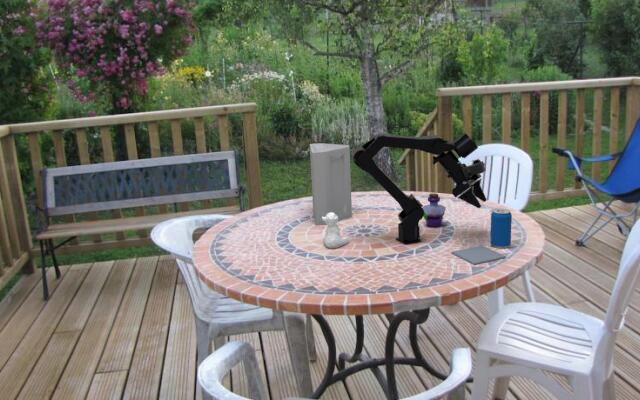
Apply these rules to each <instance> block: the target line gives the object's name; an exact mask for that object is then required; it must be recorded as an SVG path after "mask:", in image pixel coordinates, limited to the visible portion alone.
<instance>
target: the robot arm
mask: <svg viewBox="0 0 640 400" xmlns="http://www.w3.org/2000/svg"><path fill="white" fill-rule="evenodd" d="M383 148H393V149H394V148H396V149H406V150H407V149H408V150H418V151H422V152H424V153H427V154H432V155H435V156H432V164H431V165H436V164H437V163H438V164H439V165H440V166H441V167H442V169H443V170H444V171H445V173H447V175H446V177H447V178H448V179H451V180H452V182H453V183H454V184H455V185H454V187H453V188H452V190H451V194H452V195H453V197H454V198H457V199H459V200H461V201H463V202H465V203H468V204H470V205H471V206H473V207H475V208H477V209H480V208H482V205H481V203H480V201H482V202H484V203H485V202H486V201H487V200H488V199H487V198H486V197H487V196H486V195H485V193H484V190H483V187H482V186H481V183H482V175H481V174H483V173H485V171H487V169H486V164H485V163H484V161H483V160H481V159H479V158H477V159H475V160H473V161H472V162H473V163H472V164H469V165H467V164H466V163H462V162H461V161H460V160H459V158H460V159H461V158H463V159H466V158H467V157H469V156H470V155H471V154H473V153H474V152H475V151H476V150H477V149H479V147H478V145H477V144H476V142H475V141H474V140H473V139H472V138H471V137H470V136H469V135H468V134H467V133H466V132H463V133H461V135H460V136H459V137H457V139H455V140H454V141H453V142H451V141H450V140H445V139H444V138H442V137H441V136H439V135H437V134H432V135H424V136H406V135H395V134H394V135H393V134H383V133H377V134H376V135H375V136H374V137H373V138H371V139H370V140H368V141H367V142H365V143H364V144H363V145H361V146H357V147H355V148H354V149H353V150H352V151H351V159H352V162H353V163H354V165H355V166H357V167H358V168H360V169H361V170H362V171H364V172H366V173H367V174H368V175H370V176H371V177H372V178H373V179H374V180H375V181H377V183H378V184H379V185H380V186H381V188H383V189H384V190H385V191H386V192H387V193H388V194H389V195H390V196H391V197H392V198H393V199H394V200H395V201H396V202H397V203H398V205H399V206H400V208H401V211H400V212H399V213H398V214H397V217H398V219H399V221H400V223H397V233H398V235H397V236H398V237H396V238H395V241H398V242H400V243H402V244H404V245H409V244H414V243H415V244H416V243H420V242H422V239H420V230H421V228H420V226H419V223H420V221H421V220H422V219H424V217H423V216H424V210H423V208H422V207H424V205H423V204H422V203H421V201H420V200H419V199H417V198H416V197H415V195H414V194H413V193H410V195H407V194H406V193H405V192H404V191H402V189H401V188H400V187H399V186H398V185H397V184H396V182H394V181H393V180H392V178H390V177H389V176H388V175H387V174H386V173H385V171H383V169H381V168H380V167H379V166H378V165H377V163H376V162H375V160H374V157H376V155H377V154H379V152H380V151H381V150H382V149H383ZM454 153H455V154H454ZM478 199H479V200H480V201H479V200H478Z"/></svg>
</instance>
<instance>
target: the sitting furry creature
mask: <svg viewBox="0 0 640 400" xmlns="http://www.w3.org/2000/svg"><path fill="white" fill-rule="evenodd" d="M322 220H323V221H325V223H326V224H328V225H327V227H326V229H325V235H324V236H323V238H322V242H323V244H324V246H325V247H326V248H328V249H339V248H340V247H342V246H344V245H348V244H349V243H350V241H351V238H350V237H347V236H345V235H344V236H342V237H341V235H340V234H341V228H340V227H339V225H338V223H339V221H338V216H337V215H336V214H335V213H333V212H332V213H328V214H326V216H325V217H322Z"/></svg>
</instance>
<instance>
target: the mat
mask: <svg viewBox="0 0 640 400" xmlns="http://www.w3.org/2000/svg"><path fill="white" fill-rule="evenodd" d="M450 253H451V254H452V255H453V256H455V257H457V258H460V259H461V260H464V261H465V262H467V263H470V264H471V265H473V266H477V265H481V264H485V263H490V262H494V261H500V260H502V259H503V260H504V259H506V258H507V255H505V254H502V253H500V252H498V251H496V250H493V249H491V248H488V247H486V246H484V245H482V244H481V245H477V246H473V247H467V248H462V249H459V250H454V251H451V252H450Z"/></svg>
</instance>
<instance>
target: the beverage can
mask: <svg viewBox="0 0 640 400" xmlns="http://www.w3.org/2000/svg"><path fill="white" fill-rule="evenodd" d="M512 217H513V215H512V212H511V210H510V209H508V208H502V207H500V208H494V209H492V212H491V213H490V245H492V246H493V247H494V248H497V249H506V248H509V246H511V243H512V240H511V239H512Z"/></svg>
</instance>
